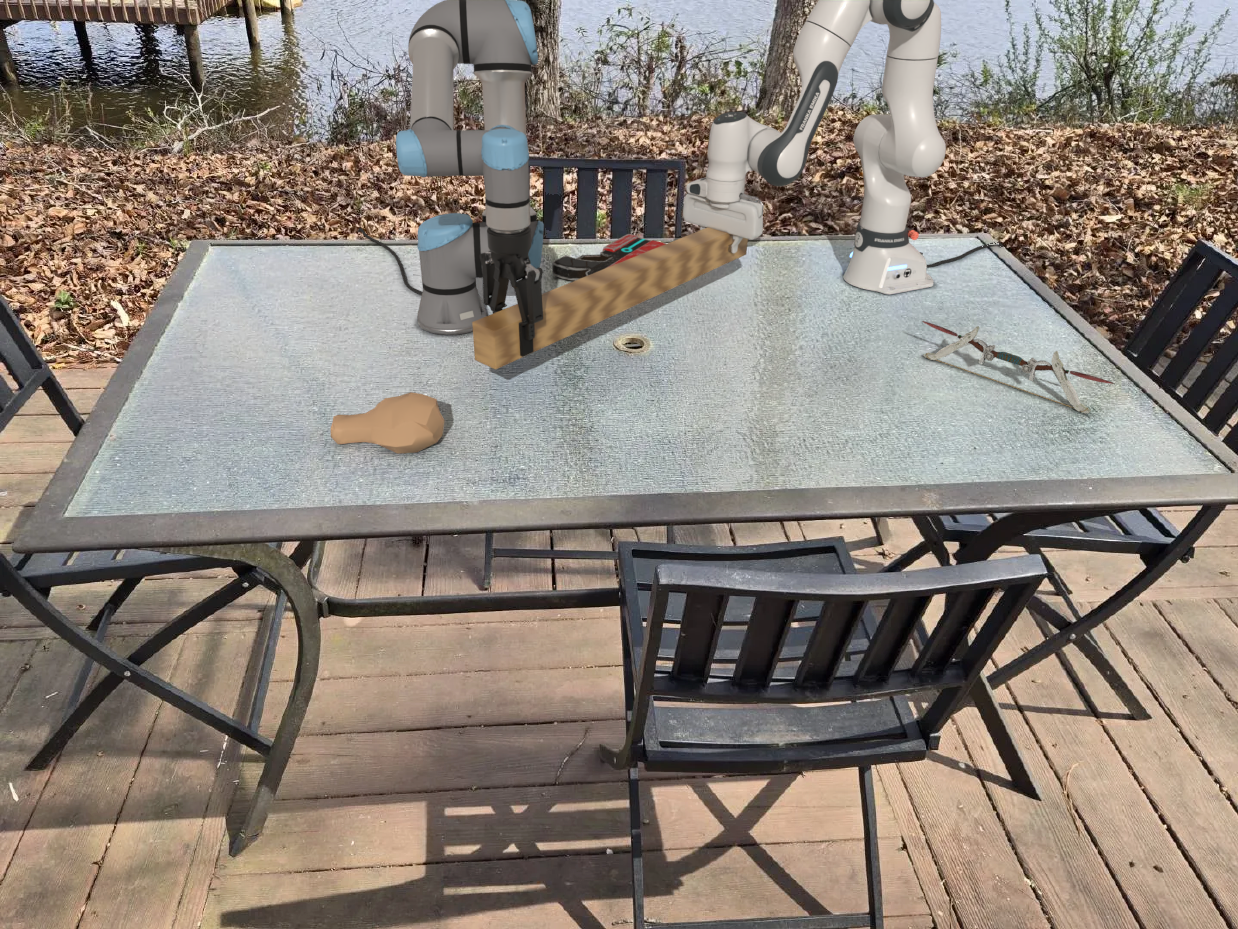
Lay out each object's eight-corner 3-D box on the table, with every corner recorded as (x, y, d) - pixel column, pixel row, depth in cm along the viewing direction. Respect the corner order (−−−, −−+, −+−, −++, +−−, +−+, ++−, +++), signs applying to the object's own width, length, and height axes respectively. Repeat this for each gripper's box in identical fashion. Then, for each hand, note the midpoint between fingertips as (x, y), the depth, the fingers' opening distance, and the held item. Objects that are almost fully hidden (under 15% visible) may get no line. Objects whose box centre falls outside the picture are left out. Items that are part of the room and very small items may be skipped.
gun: (545, 262, 216) (612, 281, 208) (611, 226, 238) (673, 242, 230) (545, 280, 218) (612, 299, 211) (610, 242, 240) (672, 258, 233)
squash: (445, 460, 150) (431, 421, 144) (332, 469, 152) (314, 430, 146) (454, 419, 158) (441, 380, 152) (346, 428, 160) (330, 389, 154)
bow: (1102, 416, 168) (1120, 369, 163) (1099, 419, 167) (1116, 372, 162) (916, 351, 190) (927, 308, 184) (912, 354, 189) (923, 311, 183)
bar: (495, 369, 157) (493, 331, 153) (474, 360, 160) (472, 321, 156) (746, 254, 210) (749, 223, 206) (726, 248, 213) (730, 218, 209)
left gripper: (563, 233, 148) (565, 357, 161) (487, 209, 157) (495, 327, 170) (532, 245, 143) (536, 371, 156) (455, 219, 153) (465, 339, 166)
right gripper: (771, 195, 194) (765, 255, 202) (696, 177, 205) (693, 235, 213) (756, 202, 190) (750, 263, 198) (680, 183, 201) (677, 241, 209)
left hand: (514, 348), depth 163 cm, fingers closed on bar, 6 cm apart
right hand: (719, 248), depth 205 cm, fingers closed on bar, 5 cm apart
